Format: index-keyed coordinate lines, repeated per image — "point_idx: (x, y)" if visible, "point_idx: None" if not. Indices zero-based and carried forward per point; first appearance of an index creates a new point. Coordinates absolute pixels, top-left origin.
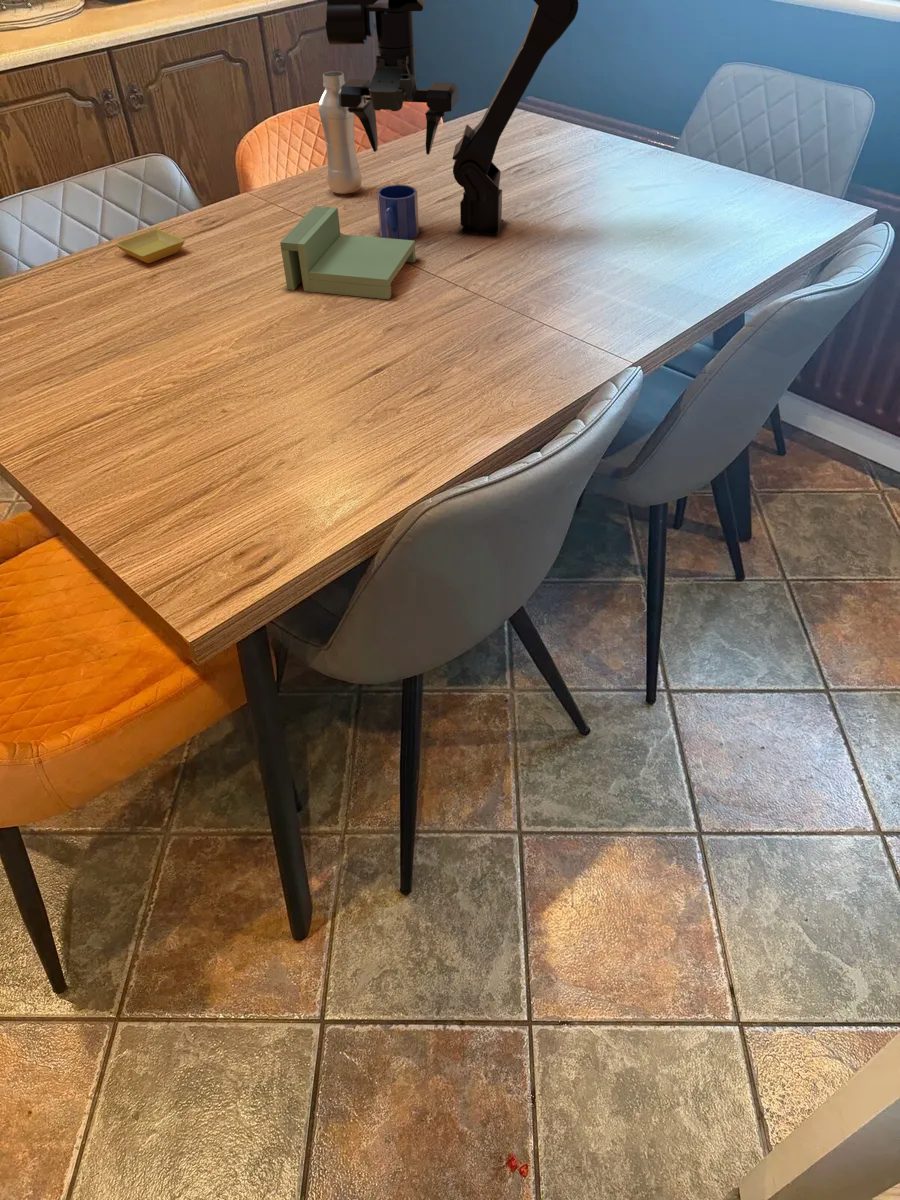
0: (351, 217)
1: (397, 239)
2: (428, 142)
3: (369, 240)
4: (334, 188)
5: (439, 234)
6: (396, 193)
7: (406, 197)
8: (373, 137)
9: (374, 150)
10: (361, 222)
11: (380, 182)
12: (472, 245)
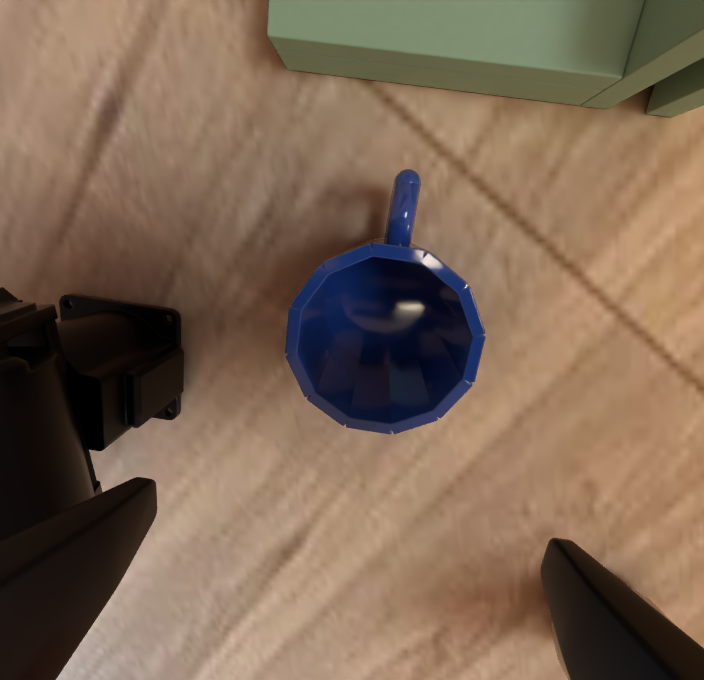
0: (563, 426)
1: (345, 35)
2: (60, 526)
3: (475, 7)
4: (643, 597)
5: (248, 304)
6: (397, 404)
7: (322, 271)
8: (626, 632)
9: (565, 542)
10: (525, 388)
11: (490, 662)
12: (123, 221)
